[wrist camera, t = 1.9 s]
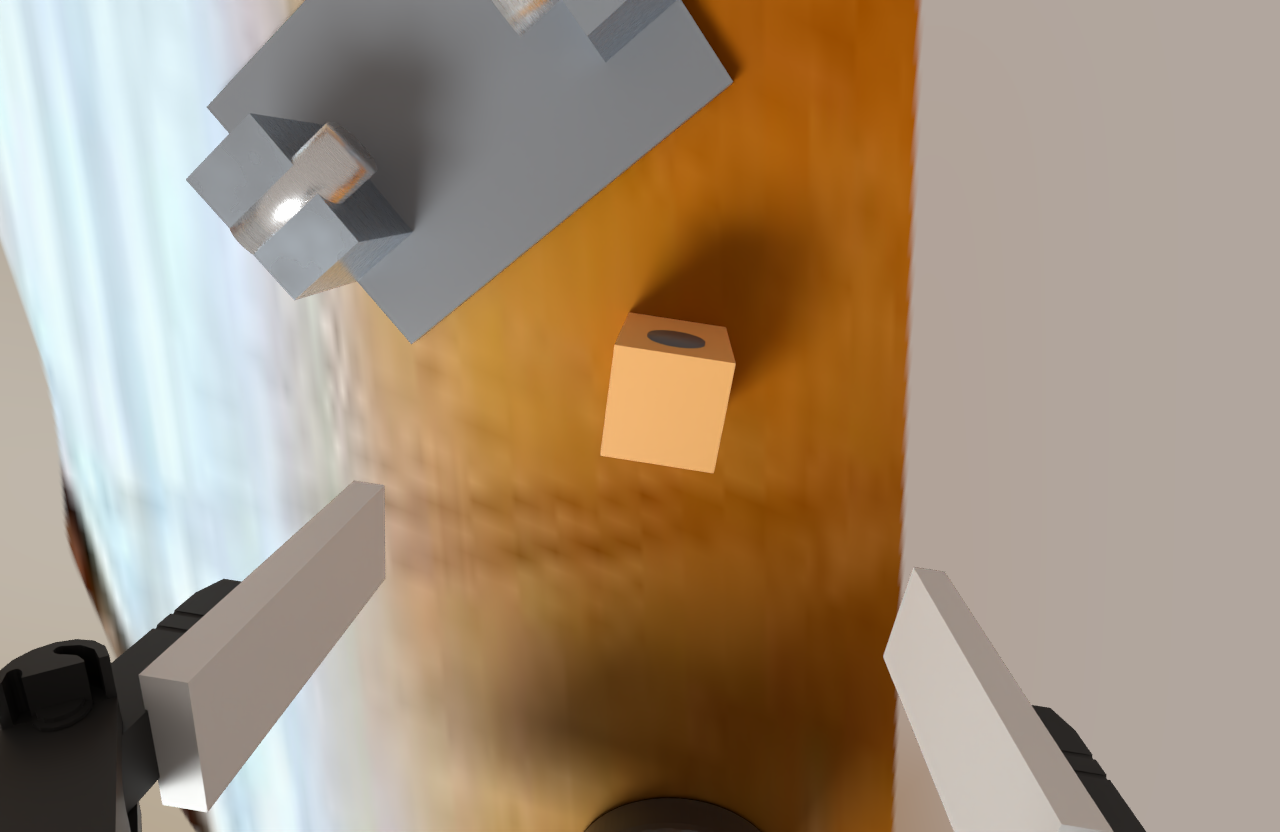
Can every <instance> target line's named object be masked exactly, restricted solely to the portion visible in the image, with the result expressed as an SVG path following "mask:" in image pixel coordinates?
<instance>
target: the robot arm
mask: <svg viewBox="0 0 1280 832" xmlns="http://www.w3.org/2000/svg"><path fill="white" fill-rule="evenodd" d="M384 580H385V493H384V485H380V484H373V483H367V482H360V481H353V482H352V483H351V484H350V485H349V486H348V487H346V488H345V489H344V490H343V491H342V492H341V493H340V494H339V495H338V496H336V497H335V498H334V499H333V500H332V501H331V502H330V503H329V504H328V505H326V506H325V507H324V508H323V509H322V510H321V511H320V512H319V513H318V514H316V515H315V516H314V517H313V518H312V519H311V520H310V521H309V522H308V523H306V524H305V525H304V526H303V527H302V528H301V529H300V530H299V531H298V532H296V533H295V534H294V535H293V536H292V537H291V538H290V539H289V540H288V541H286V542H285V543H284V544H283V545H282V546H281V547H280V548H279V549H278V550H276V551H275V552H274V553H273V554H272V555H271V556H270V557H269V558H268V559H267V560H265V561H264V562H263V563H262V564H261V565H260V566H259V567H258V568H257V569H255V570H254V571H253V572H252V573H251V574H250V575H249V576H248V577H247V578H245V579H244V580H243V581H242V582H240V581H234V580H228V579H223V580H220V581H218V582H216V583H214V584H212V585H210V586H208V587H206V588H204V589H202V590H200V591H198V592H196V593H195V594H193V595H192V596H191V597H190V598H189V599H187V600H186V601H185V602H184V603H183V604H182V605H180V606H179V607H178V608H177V609H176V610H175V612H174V614H170V615H168V616H167V617H166V618H165V619H164V620H162V621H161V622H160V623H159V624H158V625H157V628H156V629H152V630H151V631H149V632H148V633H147V634H146V635H145V636H143V637H142V638H141V639H140V640H139V641H137V642H136V643H135V644H134V645H133V646H131V647H130V648H129V649H128V650H127V651H125V652H124V653H123V654H122V655H121V656H120V657H118V658H117V659H116V660H115V661H114V662H113V663H111V662H110V657H109V654H108V651H107V649H106V647H105V646H104V645H102V644H100V643H97V642H96V641H92V640H79V639H75V640H69V641H62V642H55V643H52V644H49V645H46V646H43V647H40V648H37V649H34V650H32V651H30V652H28V653H26V654H24V655H22V656H20V657H18V658H16V659H14V660H12V661H11V662H10V663H9V664H7V665H6V666H5V667H4V668H3V669H1V670H0V832H142V824H141V810H140V805H139V800H140V799H141V798H142V797H143V796H144V794H146V792H147V791H148V790H149V789H150V788H151V787H152V786H153V784H154V783H155V782H156V781H157V780H158V783H159V788H160V793H161V799H162V804H163V805H167V806H173V807H179V808H185V809H191V810H197V811H203V812H208V811H209V810H210V808H211V807H212V806H213V804H214V803H215V802H216V801H217V799H218V798H219V797H220V795H221V794H222V793H223V791H224V790H225V789H226V787H227V786H228V785H229V783H230V782H231V781H232V779H233V778H234V777H235V776H236V774H237V773H238V772H239V770H240V769H241V768H242V766H243V765H244V764H245V762H246V761H247V760H248V758H249V757H250V756H251V754H252V753H253V752H254V751H255V749H256V748H257V747H258V745H259V744H260V743H261V741H262V740H263V739H264V737H265V736H266V735H267V733H268V732H269V731H270V729H271V728H272V727H273V726H274V724H275V723H276V722H277V720H278V719H279V718H280V716H281V715H282V714H283V712H284V711H285V710H286V708H287V707H288V706H289V704H290V703H291V702H292V701H293V699H294V698H295V697H296V695H297V694H298V693H299V691H300V690H301V689H302V687H303V686H304V685H305V683H306V682H307V681H308V679H309V678H310V677H311V676H312V674H313V673H314V672H315V670H316V669H317V668H318V666H319V665H320V664H321V662H322V661H323V660H324V658H325V657H326V656H327V654H328V653H329V652H330V651H331V649H332V648H333V647H334V645H335V644H336V643H337V641H338V640H339V639H340V637H341V636H342V635H343V633H344V632H345V631H346V629H347V628H348V627H349V626H350V624H351V623H352V622H353V620H354V619H355V618H356V616H357V615H358V614H359V612H360V611H361V610H362V608H363V607H364V606H365V605H366V603H367V602H368V601H369V599H370V598H371V597H372V595H373V594H374V593H375V591H376V590H377V589H378V587H379V586H380V585H381V583H382V582H383V581H384ZM883 658H884V660H885V663H886V665H887V668H888V670H889V673H890V675H891V678H892V680H893V683H894V685H895V687H896V690H897V692H898V695H899V697H900V700H901V702H902V705H903V707H904V710H905V712H906V715H907V717H908V719H909V722H910V724H911V727H912V729H913V732H914V734H915V737H916V739H917V742H918V744H919V747H920V749H921V752H922V754H923V756H924V759H925V761H926V764H927V766H928V769H929V771H930V774H931V776H932V779H933V781H934V784H935V786H936V789H937V791H938V793H939V796H940V798H941V801H942V803H943V806H944V808H945V811H946V813H947V816H948V818H949V821H950V823H951V826H952V828H953V831H954V832H1146V831H1145V830H1144V828H1143V827H1142V825H1141V824H1140V822H1139V821H1138V820H1137V818H1136V817H1135V815H1134V814H1133V812H1132V811H1131V809H1130V808H1129V807H1128V805H1127V804H1126V802H1125V801H1124V799H1123V798H1122V797H1121V795H1120V794H1119V792H1118V791H1117V790H1116V788H1115V787H1114V785H1113V784H1112V783H1111V781H1110V780H1107V779H1106V774H1105V772H1104V771H1103V770H1102V768H1101V767H1100V765H1099V764H1098V762H1097V761H1096V760H1093V758H1092V754H1091V752H1090V751H1089V750H1088V748H1087V747H1086V745H1085V744H1084V742H1083V741H1082V739H1081V738H1080V737H1079V735H1078V734H1077V732H1076V731H1075V730H1074V729H1073V728H1072V727H1071V726H1070V725H1068V724H1067V723H1066V722H1065V721H1064V720H1063V719H1062V718H1061V717H1059V715H1057V714H1056V713H1055V712H1054V711H1053V710H1052V709H1051V708H1047V707H1040V706H1034V705H1031V704H1030V702H1029V701H1028V699H1027V698H1026V696H1025V695H1024V693H1023V692H1022V690H1021V689H1020V687H1019V686H1018V684H1017V682H1016V681H1015V679H1014V678H1013V676H1012V675H1011V673H1010V672H1009V670H1008V668H1007V667H1006V665H1005V664H1004V662H1003V661H1002V659H1001V658H1000V656H999V655H998V653H997V652H996V650H995V649H994V647H993V645H992V644H991V642H990V641H989V639H988V638H987V636H986V635H985V633H984V631H983V630H982V628H981V627H980V625H979V624H978V623H977V621H976V620H975V618H974V616H973V615H972V613H971V612H970V610H969V608H968V607H967V606H966V604H965V602H964V601H963V599H962V598H961V596H960V595H959V593H958V592H957V590H956V588H955V587H954V585H953V584H952V582H951V581H950V579H949V578H948V576H947V575H946V573H945V572H943V571H937V570H930V569H924V568H917V567H913V569H912V572H911V575H910V578H909V581H908V584H907V587H906V590H905V593H904V596H903V599H902V602H901V605H900V608H899V611H898V614H897V617H896V620H895V623H894V626H893V629H892V632H891V635H890V638H889V641H888V643H887V646H886V649H885V652H884V655H883ZM585 832H760V831H759V830H758V829H757V828H756V827H755V826H753V825H752V824H751V823H749V822H748V821H747V820H745V819H743V818H742V817H740V816H738V815H737V814H735V813H733V812H730V811H728V810H726V809H723V808H721V807H718V806H715V805H712V804H709V803H705V802H700V801H695V800H689V799H679V798H659V799H649V800H643V801H638V802H634V803H630V804H627V805H624V806H621V807H619V808H616V809H614V810H612V811H610V812H608V813H606V814H605V815H603V816H602V817H600V818H599V819H598V820H596V821H595V822H594V823H593V824H592V825H590V827H589V828H588V829H587V830H586V831H585Z"/></svg>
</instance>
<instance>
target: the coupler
mask: <svg viewBox="0 0 1280 832" xmlns="http://www.w3.org/2000/svg"><path fill="white" fill-rule="evenodd" d="M735 365H736V363H735V359H734V355H733V351H732V348H731V344H730V340H729V336H728V333H727V329H726V327H722V326H715V325H709V324H702V323H696V322H689V321H683V320H676V319H670V318H663V317H657V316H650V315H644V314H637V313H631V312H629V314H628V316H627V318H626V320H625V323H624V325H623V327H622V329H621V332H620V334H619V336H618V338H617V340H616V343H615V346H614V353H613V361H612V369H611V376H610V384H609V392H608V399H607V407H606V415H605V422H604V430H603V438H602V446H601V453H600V456H607V457H613V458H619V459H626V460H632V461H638V462H645V463H651V464H657V465H664V466H670V467H676V468H683V469H689V470H695V471H702V472H708V473H714V469H715V464H716V459H717V454H718V449H719V445H720V440H721V435H722V430H723V425H724V420H725V415H726V410H727V405H728V400H729V395H730V390H731V385H732V380H733V375H734V370H735Z"/></svg>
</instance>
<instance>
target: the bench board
mask: <svg viewBox="0 0 1280 832" xmlns="http://www.w3.org/2000/svg"><path fill="white" fill-rule="evenodd" d="M732 83H733V81H732V79H731V77H730V76H729V74H728V73H727V71H726V70H725V68H724V67H723V65H722V63H721V62H720V60H719V59H718V57H717V56H716V54H715V52H714V51H713V49H712V48H711V46H710V45H709V43H708V41H707V40H706V38H705V37H704V35H703V34H702V32H701V30H700V29H699V27H698V26H697V24H696V23H695V21H694V19H693V18H692V16H691V15H690V13H689V12H688V10H687V8H686V7H685V5H684V4H683V2H682V1H681V0H676V1H675V2H674V3H673V4H672V5H671V6H670V7H668V8H667V9H666V10H665V11H664V12H663V13H662V14H660V15H659V16H658V17H657V18H656V19H655V20H654V21H652V22H651V23H650V24H649V25H648V26H647V27H646V28H645V29H643V30H642V31H641V32H640V33H639V34H638V35H637V36H635V37H634V38H633V39H632V40H631V41H630V42H629V43H627V44H626V45H625V46H624V47H623V48H622V49H621V50H620V51H618V52H617V53H616V54H615V55H614V56H613V57H612V58H610V59H609V60H608V61H607V62H606V63H605V61H604V60H603V58H602V57H601V55H600V54H599V53H598V51H597V50H596V48H595V47H594V45H593V44H592V42H591V41H590V40H589V38H588V37H587V35H586V34H585V32H584V31H583V29H582V28H581V26H580V25H579V23H578V22H577V21H576V19H575V18H574V16H573V15H572V13H571V12H570V10H569V9H568V7H567V6H566V4H565V3H564V2H563V0H560V1H559V2H558V3H556V4H555V5H554V6H553V7H552V8H551V9H550V10H549V11H548V12H547V13H546V14H545V15H544V16H543V17H542V18H540V19H539V20H538V21H537V22H536V23H535V24H534V25H533V26H532V27H531V28H530V29H529V30H528V31H527V32H525V33H524V34H523V35H522V36H520V35H519V34H518V33H517V32H516V31H515V30H514V29H513V27H512V26H511V25H510V24H509V23H508V21H507V20H506V19H505V17H504V16H503V15H502V14H501V12H500V11H499V10H498V8H497V7H496V6H495V4H494V3H493V2H492V0H305V2H304V3H303V4H302V5H301V6H300V7H299V8H298V9H297V10H296V11H295V12H294V13H293V14H292V16H291V17H290V18H289V19H288V20H287V21H286V22H285V23H284V24H283V25H282V26H281V27H280V28H279V30H278V31H277V32H276V33H275V34H274V35H273V36H272V37H271V38H270V39H269V40H268V41H267V43H266V44H265V45H264V46H263V47H262V48H261V49H260V50H259V51H258V52H257V53H256V54H255V55H254V57H253V58H252V59H251V60H250V61H249V62H248V63H247V64H246V65H245V66H244V67H243V68H242V70H241V71H240V72H239V73H238V74H237V75H236V76H235V77H234V78H233V79H232V80H231V81H230V82H229V84H228V85H227V86H226V87H225V88H224V89H223V90H222V91H221V92H220V93H219V94H218V95H217V97H216V98H215V99H214V100H213V101H212V102H211V103H210V104H209V105H208V106H207V108H208V109H209V110H210V112H211V113H212V114H213V115H214V116H215V117H216V119H217V120H218V121H219V122H220V123H221V124H222V125H223V127H224V128H225V129H226V130H227V131H228V132H229V134H230V133H231V132H232V131H233V130H234V129H235V128H236V126H237V125H238V124H239V123H240V122H241V121H242V120H243V119H244V118H245V117H246V116H247V115H248V114H249V113H252V114H259V115H265V116H271V117H278V118H284V119H290V120H297V121H303V122H310V123H316V124H322V125H325V124H326V123H327V122H334V123H336V124H338V125H340V126H342V127H343V128H345V129H346V130H347V131H349V132H350V133H351V134H352V135H353V136H354V137H356V138H357V139H358V140H359V141H360V142H361V144H362V145H363V146H364V147H365V148H366V149H367V151H368V152H369V153H370V155H371V156H372V158H373V159H374V161H375V163H376V166H377V171H376V173H375V174H373V175H372V176H371V177H370V178H369V179H370V180H371V181H372V183H373V184H374V185H375V186H376V188H377V189H378V190H379V191H380V192H381V194H382V195H383V196H384V197H385V198H386V200H387V201H388V202H389V203H390V205H391V206H392V207H393V208H394V209H395V211H396V212H397V213H398V214H399V216H400V217H401V218H402V219H403V220H404V222H405V223H406V224H407V225H408V227H409V228H410V229H411V230H412V231H413V233H411V234H410V235H409V236H408V237H407V238H406V239H405V240H404V241H402V242H401V243H400V244H399V245H398V246H397V247H396V248H394V249H393V250H392V251H391V252H390V253H389V254H388V255H386V256H385V257H384V258H383V259H382V260H381V261H380V262H379V263H377V264H376V265H375V266H374V267H373V268H372V269H371V270H369V271H368V272H367V273H366V274H365V275H364V276H363V277H361V278H360V279H359V280H358V281H357V282H358V283H359V284H360V285H361V286H362V287H363V289H364V290H365V291H366V292H367V293H368V294H369V296H370V297H371V298H372V299H373V300H374V301H375V302H376V304H377V305H378V306H379V307H380V308H381V309H382V311H383V312H384V313H385V314H386V315H387V316H388V318H389V319H390V320H391V321H392V322H393V323H394V324H395V326H396V327H397V328H398V329H399V330H400V331H401V333H402V334H403V335H404V336H405V337H406V338H407V340H408V341H409V342H410V343H411V344H412V343H414V342H416V341H417V340H419V339H420V338H421V337H422V336H424V335H425V334H426V333H427V332H429V331H430V330H431V329H432V328H433V327H435V326H436V325H437V324H438V323H440V322H441V321H442V320H443V319H444V318H446V317H447V316H448V315H449V314H451V313H452V312H453V311H454V310H455V309H457V308H458V307H459V306H460V305H462V304H463V303H464V302H465V301H467V300H468V299H469V298H470V297H471V296H473V295H474V294H475V293H476V292H478V291H479V290H480V289H481V288H482V287H484V286H485V285H486V284H487V283H489V282H490V281H491V280H492V279H494V278H495V277H496V276H497V275H498V274H500V273H501V272H502V271H503V270H505V269H506V268H507V267H508V266H509V265H511V264H512V263H513V262H514V261H516V260H517V259H518V258H519V257H521V256H522V255H523V254H524V253H525V252H527V251H528V250H529V249H530V248H532V247H533V246H534V245H535V244H536V243H538V242H539V241H540V240H541V239H543V238H544V237H545V236H546V235H547V234H549V233H550V232H551V231H552V230H554V229H555V228H556V227H557V226H559V225H560V224H561V223H562V222H563V221H565V220H566V219H567V218H568V217H570V216H571V215H572V214H573V213H574V212H576V211H577V210H578V209H579V208H581V207H582V206H583V205H584V204H586V203H587V202H588V201H589V200H590V199H592V198H593V197H594V196H595V195H597V194H598V193H599V192H600V191H601V190H603V189H604V188H605V187H606V186H608V185H609V184H610V183H611V182H613V181H614V180H615V179H616V178H617V177H619V176H620V175H621V174H622V173H624V172H625V171H626V170H627V169H628V168H630V167H631V166H632V165H633V164H635V163H636V162H637V161H638V160H639V159H641V158H642V157H643V156H644V155H646V154H647V153H648V152H649V151H651V150H652V149H653V148H654V147H655V146H657V145H658V144H659V143H660V142H662V141H663V140H664V139H665V138H666V137H668V136H669V135H670V134H671V133H673V132H674V131H675V130H676V129H678V128H679V127H680V126H681V125H682V124H684V123H685V122H686V121H687V120H689V119H690V118H691V117H692V116H693V115H695V114H696V113H697V112H698V111H700V110H701V109H702V108H703V107H705V106H706V105H707V104H708V103H709V102H711V101H712V100H713V99H714V98H716V97H717V96H718V95H719V94H720V93H722V92H723V91H724V90H725V89H727V88H728V87H729V86H730V85H731V84H732Z"/></svg>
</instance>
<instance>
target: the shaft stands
mask: <svg viewBox="0 0 1280 832" xmlns="http://www.w3.org/2000/svg"><path fill="white" fill-rule="evenodd" d="M559 1H560V0H492V2H493V3H494V4H495V6H496V7H497V8H498V10H499V11H500V12H501V14H502V15H503V16H504V17H505V19H506V20H507V21H508V23H509V24H510V25H511V26H512V27H513V29H514V30H515V31H516V32H517V33H518V34H519V35H520V36H522V35H523V34H524V33H525V32H527V31H528V30H529V29H530V28H531V27H532V26H533V25H534V24H535V23H536V22H537V21H538V20H539V19H540V18H542V17H543V16H544V15H545V14H546V13H547V12H548V11H549V10H550V9H551V8H552V7H553V6H554V5H555V4H556V3H558V2H559ZM675 1H676V0H563V2H564V3H565V4H566V6H567V7H568V9H569V10H570V12H571V13H572V15H573V16H574V18H575V19H576V21H577V22H578V23H579V25H580V26H581V28H582V29H583V31H584V32H585V34H586V35H587V37H588V38H589V40H590V41H591V42H592V44H593V45H594V47H595V48H596V50H597V51H598V53H599V54H600V55H601V57H602V58H603V60H604V61H605V63H606V62H607V61H608V60H609V59H610V58H612V57H613V56H614V55H615V54H616V53H617V52H618V51H620V50H621V49H622V48H623V47H624V46H625V45H626V44H627V43H629V42H630V41H631V40H632V39H633V38H634V37H635V36H637V35H638V34H639V33H640V32H641V31H642V30H643V29H645V28H646V27H647V26H648V25H649V24H650V23H651V22H652V21H654V20H655V19H656V18H657V17H658V16H659V15H660V14H662V13H663V12H664V11H665V10H666V9H667V8H668V7H670V6H671V5H672V4H673V3H674V2H675ZM376 171H377V166H376V163H375V161H374V159H373V158H372V156H371V155H370V153H369V152H368V151H367V149H366V148H365V147H364V146H363V145H362V144H361V142H360V141H359V140H358V139H357V138H356V137H354V136H353V135H352V134H351V133H350V132H349V131H347V130H346V129H345V128H343V127H342V126H340V125H338V124H336V123H334V122H327V123H326V124H325V125H322V124H316V123H310V122H303V121H297V120H290V119H284V118H278V117H271V116H265V115H259V114H252V113H249V114H248V115H247V116H246V117H245V118H244V119H243V120H242V121H241V122H240V123H239V124H238V125H237V126H236V128H235V129H234V130H233V131H232V132H231V133H230V134H229V135H228V136H227V137H226V138H225V139H224V140H223V141H222V142H221V143H220V144H219V145H218V146H217V147H216V148H215V149H214V151H213V152H212V153H211V154H210V155H209V156H208V157H207V158H206V159H205V160H204V161H203V162H202V163H201V164H200V165H199V166H198V167H197V168H196V169H195V170H194V171H193V173H192V174H191V175H190V176H189V177H188V178H187V179H186V180H187V182H188V183H189V184H190V185H191V186H192V187H193V188H194V189H195V190H196V192H197V193H198V194H199V195H200V196H201V197H202V198H203V199H204V200H205V202H206V203H207V204H208V205H209V206H210V207H211V208H212V209H213V210H214V212H215V213H216V214H217V215H218V216H219V217H220V218H221V219H222V220H223V222H224V223H225V224H226V225H227V226H228V227H229V228H230V231H231V233H232V234H233V236H234V237H235V239H236V240H237V241H238V242H239V243H240V244H241V245H242V246H243V247H244V248H245V249H246V250H248V251H249V252H250V253H252V254H253V255H254V256H255V257H256V258H257V259H258V260H259V262H260V263H261V264H262V265H263V266H264V267H265V268H266V269H267V270H268V272H269V273H270V274H271V275H272V276H273V277H274V278H275V279H276V280H277V282H278V283H279V284H280V285H281V286H282V287H283V288H284V289H285V290H286V292H287V293H288V294H289V295H290V296H291V297H292V298H293V299H294V300H297V299H300V298H303V297H307V296H310V295H313V294H317V293H320V292H323V291H326V290H330V289H333V288H336V287H340V286H343V285H346V284H350V283H353V282H356V281H358V280H359V279H360V278H361V277H363V276H364V275H365V274H366V273H367V272H368V271H369V270H371V269H372V268H373V267H374V266H375V265H376V264H377V263H379V262H380V261H381V260H382V259H383V258H384V257H385V256H386V255H388V254H389V253H390V252H391V251H392V250H393V249H394V248H396V247H397V246H398V245H399V244H400V243H401V242H402V241H404V240H405V239H406V238H407V237H408V236H409V235H410V234H411V233H413V231H412V230H411V229H410V228H409V227H408V225H407V224H406V223H405V222H404V220H403V219H402V218H401V217H400V216H399V214H398V213H397V212H396V211H395V209H394V208H393V207H392V206H391V205H390V203H389V202H388V201H387V200H386V198H385V197H384V196H383V195H382V194H381V192H380V191H379V190H378V189H377V188H376V186H375V185H374V184H373V183H372V181H371V180H370V179H369V178H370V177H371V176H372V175H373V174H375V173H376Z"/></svg>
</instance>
